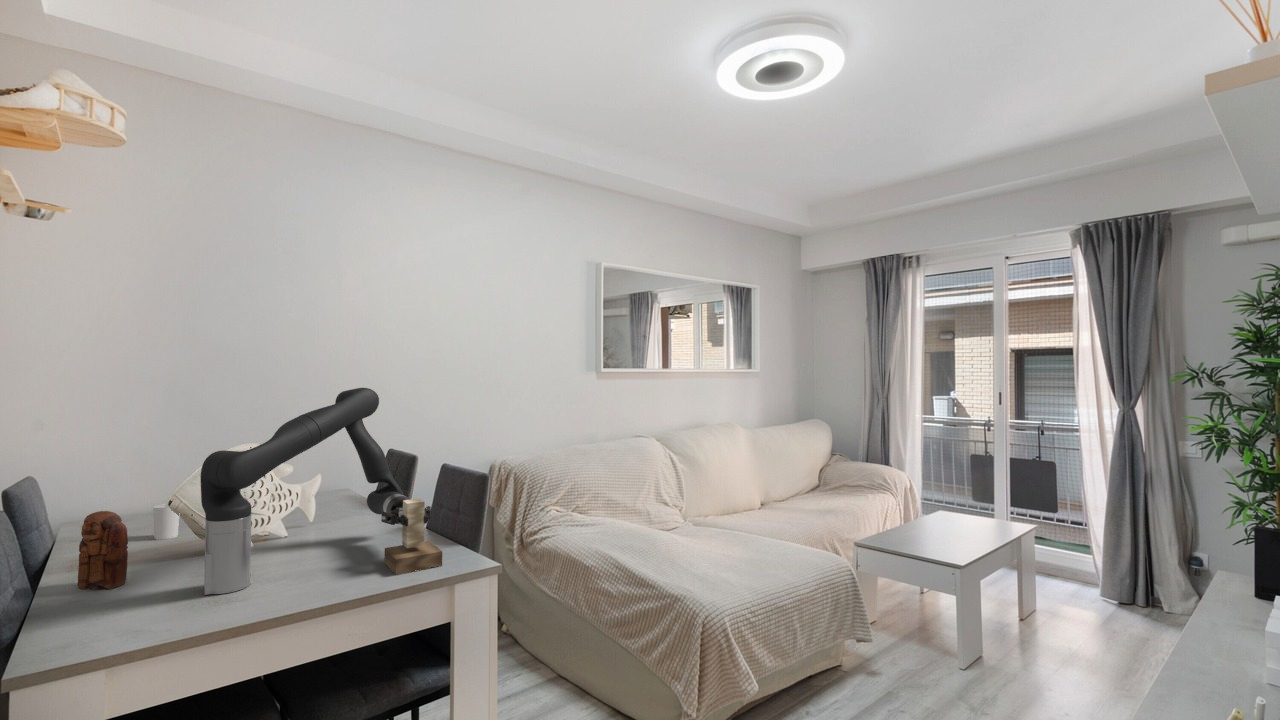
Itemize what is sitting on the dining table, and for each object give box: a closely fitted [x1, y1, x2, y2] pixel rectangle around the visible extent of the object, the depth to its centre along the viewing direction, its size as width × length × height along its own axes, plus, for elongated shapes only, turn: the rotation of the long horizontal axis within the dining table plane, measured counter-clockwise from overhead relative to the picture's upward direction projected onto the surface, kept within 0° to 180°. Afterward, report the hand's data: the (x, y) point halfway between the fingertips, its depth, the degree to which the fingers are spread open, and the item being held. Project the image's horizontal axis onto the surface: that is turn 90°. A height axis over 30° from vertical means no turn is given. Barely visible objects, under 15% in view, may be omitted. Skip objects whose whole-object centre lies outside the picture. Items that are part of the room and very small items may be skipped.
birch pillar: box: [401, 498, 425, 548], centre depth 163 cm, size 4×4×12 cm
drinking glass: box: [152, 502, 180, 541], centre depth 187 cm, size 7×7×10 cm
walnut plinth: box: [384, 540, 443, 576], centre depth 162 cm, size 12×12×4 cm
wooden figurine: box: [77, 510, 129, 590], centre depth 146 cm, size 12×6×18 cm, turn 86°
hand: (416, 521), depth 160 cm, fingers closed on birch pillar, 4 cm apart
